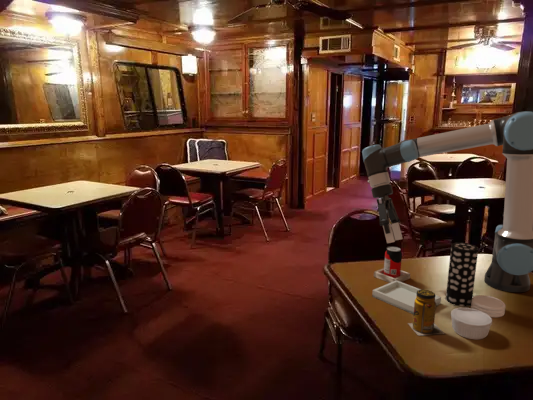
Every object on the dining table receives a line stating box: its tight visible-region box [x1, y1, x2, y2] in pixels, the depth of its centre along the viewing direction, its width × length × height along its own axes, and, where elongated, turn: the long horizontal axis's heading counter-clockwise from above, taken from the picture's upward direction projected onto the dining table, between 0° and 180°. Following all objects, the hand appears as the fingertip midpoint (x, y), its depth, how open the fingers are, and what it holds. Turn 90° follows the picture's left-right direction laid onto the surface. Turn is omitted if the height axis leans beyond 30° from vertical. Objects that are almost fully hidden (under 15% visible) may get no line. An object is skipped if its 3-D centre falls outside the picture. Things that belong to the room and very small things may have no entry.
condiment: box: [407, 288, 446, 336], centre depth 125 cm, size 7×8×12 cm
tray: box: [371, 280, 442, 315], centre depth 144 cm, size 18×14×2 cm
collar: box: [373, 267, 411, 283], centre depth 164 cm, size 10×10×2 cm
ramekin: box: [450, 307, 493, 340], centre depth 124 cm, size 11×11×5 cm
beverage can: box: [383, 246, 403, 278], centre depth 163 cm, size 6×6×12 cm
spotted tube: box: [445, 242, 479, 307], centre depth 142 cm, size 8×8×20 cm
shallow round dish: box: [470, 294, 506, 318], centre depth 137 cm, size 10×10×4 cm
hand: (395, 241), depth 153 cm, fingers open, 13 cm apart
